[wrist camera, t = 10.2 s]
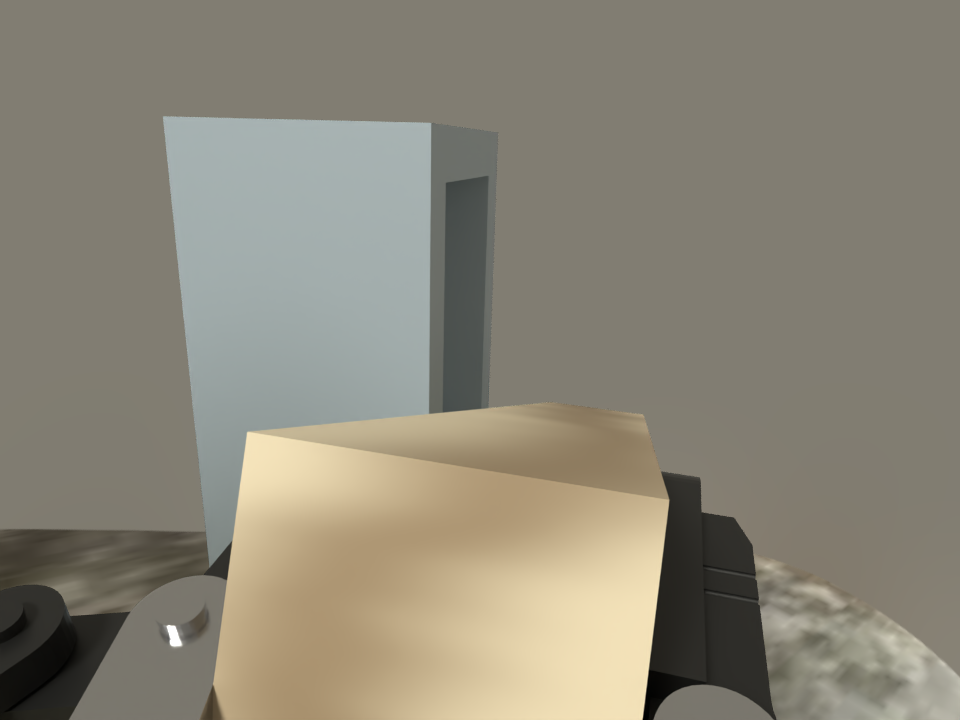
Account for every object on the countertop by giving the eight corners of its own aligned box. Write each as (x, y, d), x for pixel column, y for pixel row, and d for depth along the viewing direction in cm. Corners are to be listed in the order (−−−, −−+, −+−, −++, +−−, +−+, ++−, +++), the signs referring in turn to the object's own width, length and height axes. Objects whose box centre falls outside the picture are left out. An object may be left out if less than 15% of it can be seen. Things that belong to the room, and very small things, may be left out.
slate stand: (233, 795, 34) (162, 116, 24) (332, 636, 45) (310, 127, 36) (425, 840, 32) (431, 122, 23) (479, 662, 43) (498, 132, 34)
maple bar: (177, 948, 7) (247, 430, 7) (536, 515, 30) (550, 401, 30) (595, 1101, 6) (669, 499, 6) (628, 531, 29) (643, 414, 29)
